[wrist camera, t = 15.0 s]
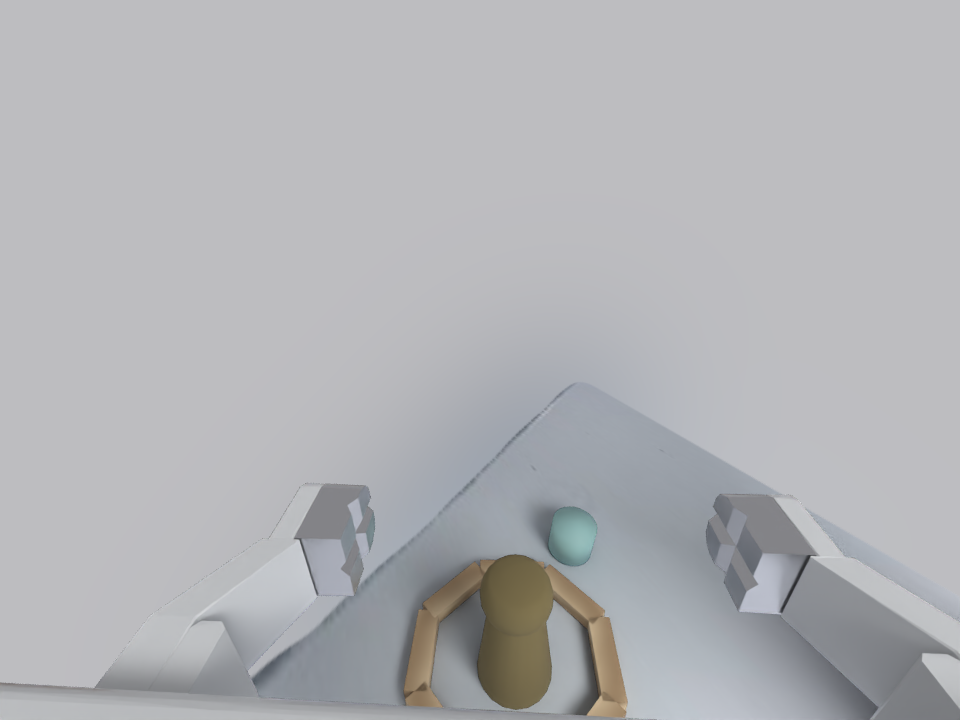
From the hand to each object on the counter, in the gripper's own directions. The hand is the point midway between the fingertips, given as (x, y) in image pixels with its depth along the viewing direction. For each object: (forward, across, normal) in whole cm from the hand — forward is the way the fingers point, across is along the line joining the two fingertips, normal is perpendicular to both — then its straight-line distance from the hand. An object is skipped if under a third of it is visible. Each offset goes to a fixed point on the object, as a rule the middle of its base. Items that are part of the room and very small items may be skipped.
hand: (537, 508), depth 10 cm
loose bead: (+23, -6, +30) cm, 38 cm away
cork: (+12, 0, +30) cm, 32 cm away
